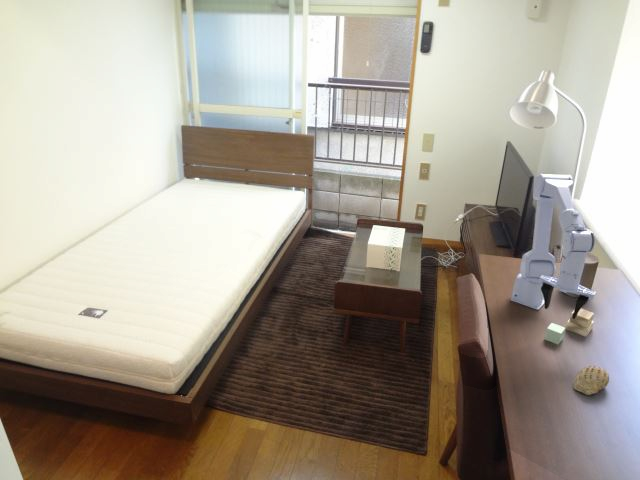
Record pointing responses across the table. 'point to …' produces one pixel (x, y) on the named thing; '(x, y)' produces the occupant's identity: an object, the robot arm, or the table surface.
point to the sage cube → (554, 333)
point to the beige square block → (582, 318)
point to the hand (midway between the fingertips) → (560, 312)
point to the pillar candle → (587, 273)
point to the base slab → (579, 328)
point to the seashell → (591, 380)
